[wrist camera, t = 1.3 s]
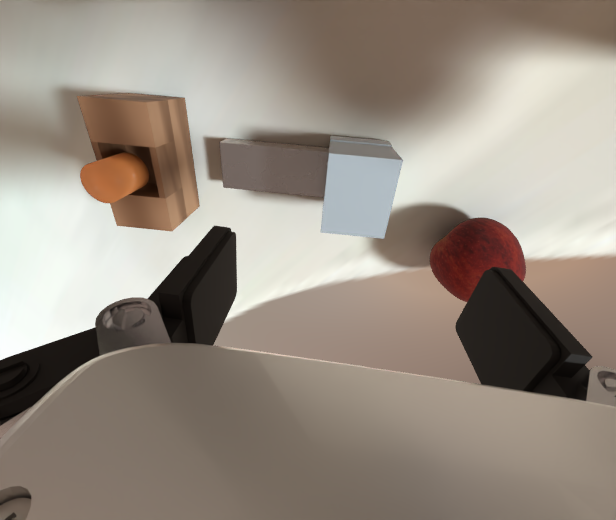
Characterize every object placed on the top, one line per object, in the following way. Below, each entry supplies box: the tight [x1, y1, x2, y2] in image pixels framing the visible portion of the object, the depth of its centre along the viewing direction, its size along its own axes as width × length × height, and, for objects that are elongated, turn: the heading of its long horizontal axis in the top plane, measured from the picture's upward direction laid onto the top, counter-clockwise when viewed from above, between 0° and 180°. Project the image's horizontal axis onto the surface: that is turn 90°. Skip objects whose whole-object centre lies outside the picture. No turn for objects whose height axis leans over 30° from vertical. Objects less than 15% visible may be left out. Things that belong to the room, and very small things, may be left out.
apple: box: [430, 218, 526, 302], centre depth 27 cm, size 7×8×8 cm
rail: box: [220, 138, 329, 197], centre depth 27 cm, size 15×4×2 cm, turn 86°
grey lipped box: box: [321, 136, 403, 239], centre depth 24 cm, size 5×6×7 cm
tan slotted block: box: [77, 93, 200, 231], centre depth 25 cm, size 5×10×6 cm, turn 176°
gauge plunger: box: [80, 152, 149, 203], centre depth 21 cm, size 3×3×4 cm
